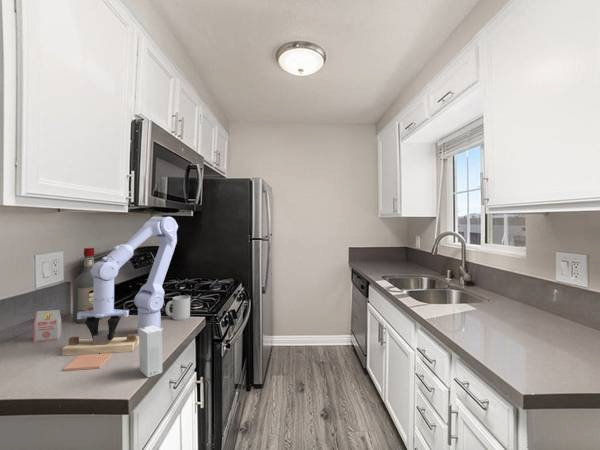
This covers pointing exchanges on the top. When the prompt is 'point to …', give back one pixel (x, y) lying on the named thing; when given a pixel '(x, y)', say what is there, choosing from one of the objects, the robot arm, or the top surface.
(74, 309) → the liquor
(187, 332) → the top surface
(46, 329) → the white red printed carton
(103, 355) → the terracotta tile
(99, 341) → the gray rectangular block
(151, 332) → the skincare box
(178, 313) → the cup
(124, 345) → the hand plane
